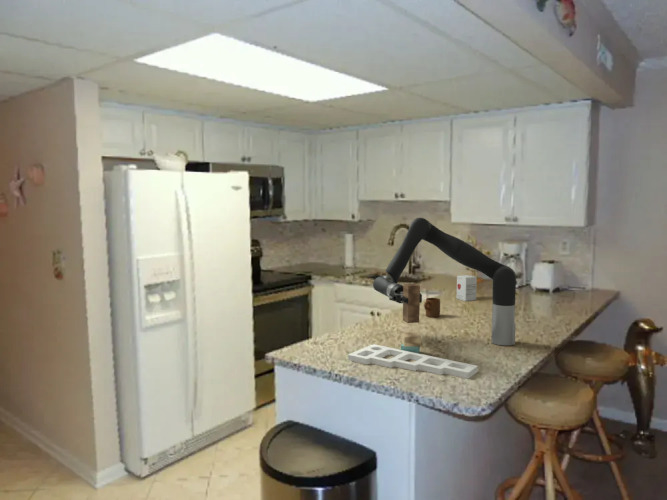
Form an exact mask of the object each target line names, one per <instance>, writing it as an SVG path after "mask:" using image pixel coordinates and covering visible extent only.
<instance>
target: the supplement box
mask: <svg viewBox="0 0 667 500" xmlns="http://www.w3.org/2000/svg"><path fill="white" fill-rule="evenodd" d="M477 283H478V278H477V276H474V275H470V274H466V275H465V274H464V275H457V276H456V300H460V301H463V302H468V301H469V302H470V301H476V300H477Z"/></svg>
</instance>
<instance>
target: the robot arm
mask: <svg viewBox="0 0 667 500" xmlns="http://www.w3.org/2000/svg"><path fill="white" fill-rule="evenodd" d="M422 240H423V241H425V242H427V243H429V244H431V245H433V246H434V247H436V248H438V249H439V250H440V251H441V252H442V253H444V254H445V255H446V256H448V257H449V258H451V259H452V260H453V261H456V262H457V263H458V264H461V265H462V266H465V267H467V268H470V269H472V270H475V271H478V272H480V273H481V274H483V275H485V276H487V277H488V278H489V279H491V280H492V309H491V310H492V316H491V336H490V337H491V343H492V344H495V345H498V346H512V345H513V346H515V345H516V322H515V318H516V317H515V315H516V314H515V313H516V291H517V290H516V289H517V287H516V286H517V285H516V284H517V275H516V272H515V271H514V269H513V268H511V267H509V266H507V265H505V264H503V263H501V262H498V261H496V260H494V259H492V258H490V257H489V256H487V255H486V254H484V253H483V252H482V251H480V250H479V249H478V248H476V247H474V246H473V245H471V244H469V243H467V242H465V241H464V240H462V239H460V238H458V237H456V236H453V235H451V234H449V233H446V232H444V231H443V230H441V229H439V228H438V227H437V226H435V225H434V224H433V223H431V222H430V221H429V220H427V219H426V218H424V217H416V218H415V219H413V220H412V221H411V222H410V225H409V227H408V230H407V233H406V234H405V237H404V238H403V241H402V243H401V245H400V246H399V248H398V249H397V251H396V253H395V254H394V255H393V257H392V259H391V260H390V262H389V264H388V266H387V267H386V269H385V272H386V274H387V275H389V276H390V280H389V279H388V278H385V277H384V276H378V277H376V278H375V279H374V280H373V282H372V286H373V289H374V290H375V291H376V292H378V293H380V294H381V295H383V296H386V297H387V298H388V300H389V301H392V302H396V303H398V304H403V302H404V303H406V304H407V303H408V298H407V297H405V296H403V285H402V284H400V283H398V282H399V279H400V277H401V275H402V273H403V271H404V270H405V269H406V266H408V264H409V262H410V259H411V257H412V255H413V253H414V251H415V249H416V248H417V247H418V244H419V243H420V242H421V241H422ZM422 302H423V293H421V292H420V304H421V303H422Z"/></svg>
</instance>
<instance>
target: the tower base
mask: <svg viewBox="0 0 667 500" xmlns="http://www.w3.org/2000/svg"><path fill="white" fill-rule="evenodd" d="M400 350H404V351H409V352H414V353H418V354H420V352H421V351H420V350H421V348H420V347H404V345H403V343H402V342H401V345H400Z"/></svg>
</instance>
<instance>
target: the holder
mask: <svg viewBox="0 0 667 500" xmlns="http://www.w3.org/2000/svg"><path fill="white" fill-rule="evenodd" d="M347 356H348V358H347V360H348V361H349V362H354V363H357V364H358V363H359V364H361V365H370V364H372V365H376V366H381V367H384V368H385V367H386V368H389V369H392V368H393V367H395V368H399V369H404V370H407V369H409V370H408V371H411V370H413V372H417V371H422V372H426V371H427V372H426V373H430V374H435V375H438V376H440V375H444V374H445V375H450V376H454V377H459V378H464V379H470V378H471V377H472V376H475V374H477V373H478V369H479V368H478V367H479V366H478V365H475V364H471V363H466V362H461V361H456V360H452V359H446V358H441V357H439V356H431V355H428V354H423V353H419V354H418V353H414V352H409V351H404V350H401V349H399V348H394V347H388V346H384V345H379V344H374V343H373V344H371V345H369V346H368V345H367V346H365V347H362V348H361V349H358V350H355V351H354V352H353V351H352V352H350V353H349V354H348V355H347ZM387 356H393V357H391V358H384V357H387ZM408 360H413V362H412V361H408ZM416 370H417V371H416Z"/></svg>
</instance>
